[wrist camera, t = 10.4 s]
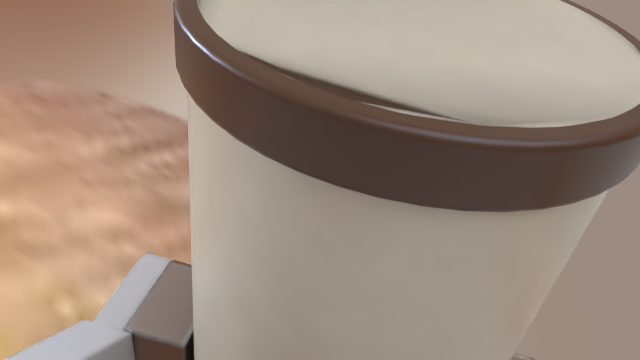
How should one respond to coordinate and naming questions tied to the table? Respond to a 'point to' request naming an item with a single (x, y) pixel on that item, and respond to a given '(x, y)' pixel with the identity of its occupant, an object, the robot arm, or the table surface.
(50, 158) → the table surface
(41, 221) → the table surface
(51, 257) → the table surface
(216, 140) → the capped cylinder
